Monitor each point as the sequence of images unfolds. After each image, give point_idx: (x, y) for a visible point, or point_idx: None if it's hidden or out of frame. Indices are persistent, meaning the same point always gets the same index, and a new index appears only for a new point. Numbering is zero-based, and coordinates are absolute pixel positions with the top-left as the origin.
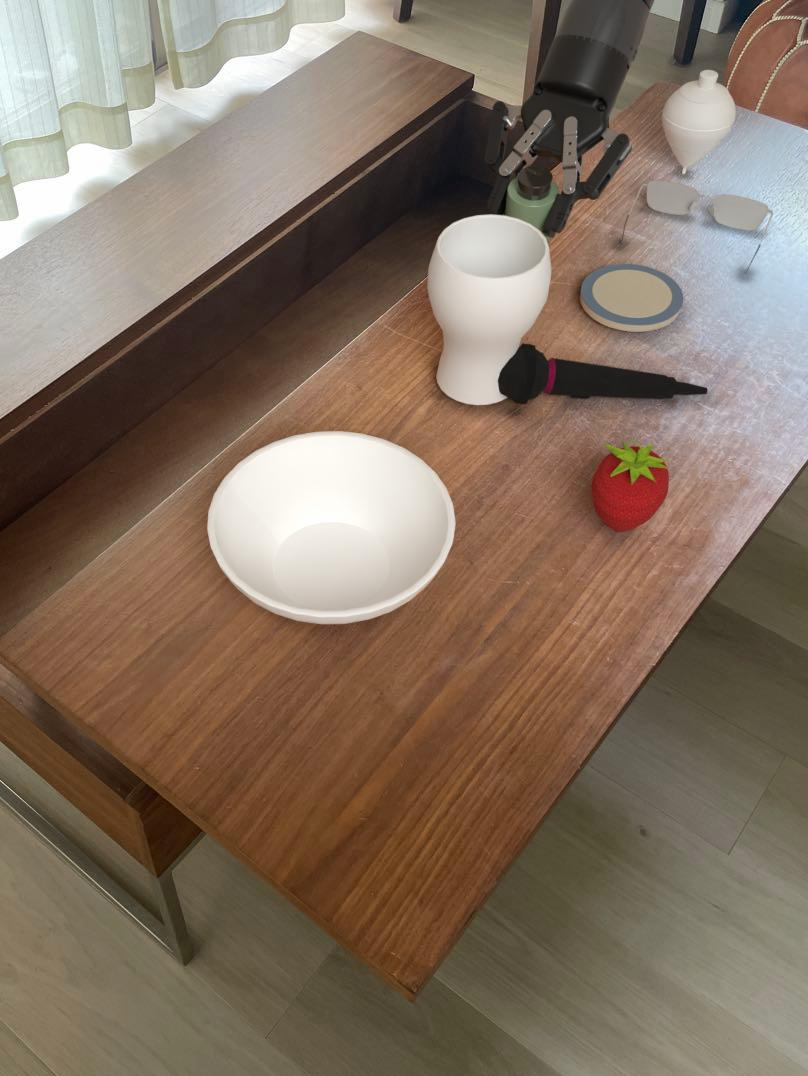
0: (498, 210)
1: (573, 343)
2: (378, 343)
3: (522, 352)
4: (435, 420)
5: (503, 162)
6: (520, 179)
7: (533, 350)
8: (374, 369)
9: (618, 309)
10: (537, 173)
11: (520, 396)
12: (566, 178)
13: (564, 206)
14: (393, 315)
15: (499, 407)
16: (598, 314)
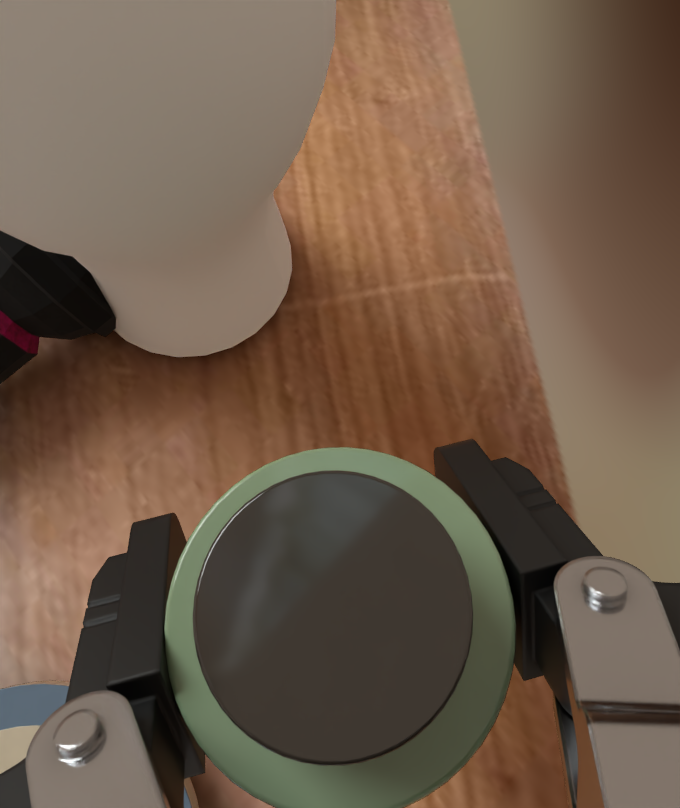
0: (446, 472)
1: (84, 562)
2: (465, 223)
3: None
4: None
5: (664, 613)
6: (390, 492)
7: (1, 235)
8: (402, 158)
9: (7, 756)
10: (346, 652)
11: None
12: (121, 785)
13: (102, 657)
14: (523, 319)
15: None
16: (51, 684)
